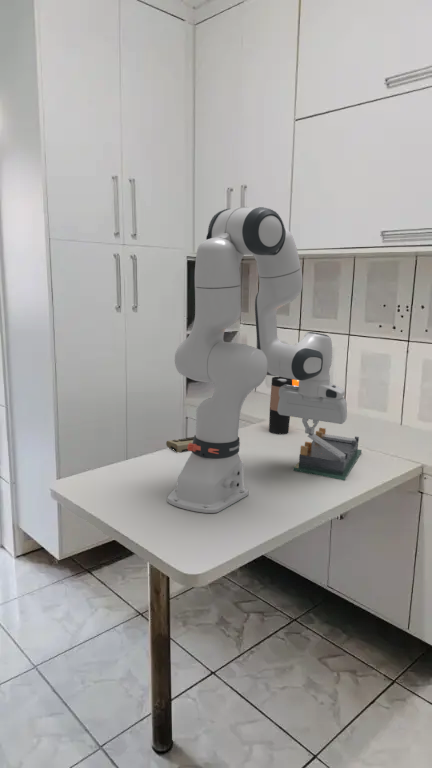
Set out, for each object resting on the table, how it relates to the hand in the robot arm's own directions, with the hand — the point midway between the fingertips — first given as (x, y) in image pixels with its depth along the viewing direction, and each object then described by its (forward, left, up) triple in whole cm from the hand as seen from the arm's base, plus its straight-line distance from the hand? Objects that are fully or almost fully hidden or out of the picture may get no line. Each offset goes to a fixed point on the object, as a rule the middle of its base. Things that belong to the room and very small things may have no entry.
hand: (309, 433), depth 155 cm
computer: (0, +38, -11) cm, 40 cm away
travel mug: (+32, +19, -11) cm, 39 cm away
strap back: (+18, -5, -6) cm, 19 cm away
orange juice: (+64, +22, -11) cm, 68 cm away
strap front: (0, -5, -3) cm, 6 cm away
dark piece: (+9, -5, -11) cm, 15 cm away
